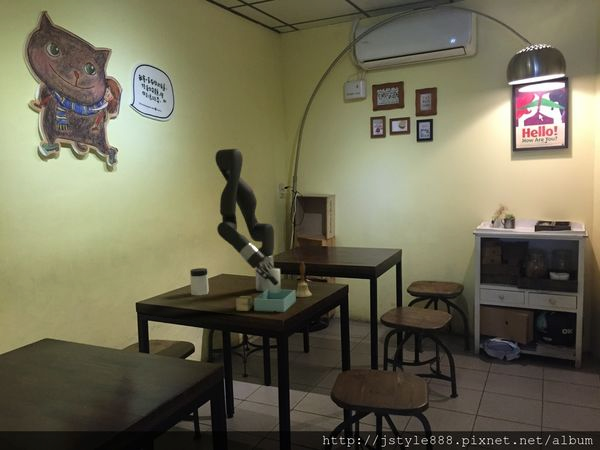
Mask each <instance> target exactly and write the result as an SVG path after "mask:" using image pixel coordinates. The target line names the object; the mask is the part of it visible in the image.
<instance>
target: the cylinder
mask: <svg viewBox="0 0 600 450" xmlns="http://www.w3.org/2000/svg"><path fill="white" fill-rule="evenodd" d="M269 270H270V273H271V274H272V276H273V277H274V278H275V279H276V280H277V281H278V284H277V285H274V284H273V283H272V282H271V281H270V280H269V292H270V293H279V292H281V290H282V288H281V282H282V281H281V282H280V277H281V268H276V267H274V268H273V269H269Z"/></svg>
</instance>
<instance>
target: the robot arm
mask: <svg viewBox="0 0 600 450" xmlns="http://www.w3.org/2000/svg"><path fill="white" fill-rule="evenodd" d="M214 158H215V162H216V166H217V168H218V170H219V171H220V173H221V175H222V176H223V178H224V179H225V182H226V183H225V186H224V187H223V191H222V192H221V196H220V203H219V213H220V215H221V218H222V221H221V222H220V223H219V224H218V225H217V228H216V230H217V233H218V235H219V237H221V238H222V239H223V240H224V241H225V242H227V243H228V244H229V245H230V246H232V247H233V248H234V250H236V252H238V253H239V255H240V256H241V257H242V259H243V260H244V261H245V262H246V263H247V264H248V265H249V266H250V267H251V268H253V269H254V270H255V271H254V272H255V290H256V291H258V292H265V291H266V290H267V289H269V280H270V281H271V282H272V283H273V284H274V285H277V284H278V281H277V280H276V279H275V278H274V277H273V276H272V274H271V273H270V270H269V269H273V268H275V266H274V250H275V229H274V226H273V225H272V224H270V223H264V222H263V223H260V222H259V221H258V219H257V216H256V209H257V203H258V202H257V198H256V195H255V193H254V190H253V189H252V187H251V186H250V185H249V184H248V183H247V182H246V181H245V180H244V179H243V178H242V177H240V176H241V173H242V167H243V158H244V157H243V154H242V151H241V150H239V149H238V148H226V149H220V150H218V151H216V153H215V157H214ZM237 206H238V208H239V210H240V212H241V214H242V217H243V219H244V222H245V225H246V227H247V231H248V234H249V236H250V238H251V239H252V240H253V241H254V242H258V243H261V247H257V246H256V245H255V244H254V243H252V241H250V240H249V239H248V238H247V237H246V236H245V235H244V234H242V233H240V232H238V230H237V229H238V223H237V221H238V220H237V215H236V212H237V211H236V210H237ZM282 281H283V278H282V277H281V276H280V282H282Z"/></svg>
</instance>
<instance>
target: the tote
mask: <svg viewBox="0 0 600 450" xmlns="http://www.w3.org/2000/svg"><path fill="white" fill-rule="evenodd" d="M295 293H296V289H281V292H279V293H270V292H269V289H267V290H266V291H262V293H260V294H259V295H257V296H256V297H255V298H254V299H253V309H254V311H255V312H274V311H276V312H278V313H284V312H286V311H287V310H288V309H289V308H290V307H291V306H292V305H293V304H294V303H296V301H297V298H296V295H295Z"/></svg>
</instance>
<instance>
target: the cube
mask: <svg viewBox="0 0 600 450" xmlns="http://www.w3.org/2000/svg"><path fill="white" fill-rule="evenodd" d="M252 301H253V300H252V296H251V295H250V296H248V295H240V296H239V297H237V298H236V299H235V302H236V303H235V304H236V306H235V307H236V311H243V312H245V311H246V312H248V311H249V310H251V309H252V308H253V302H252Z"/></svg>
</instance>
